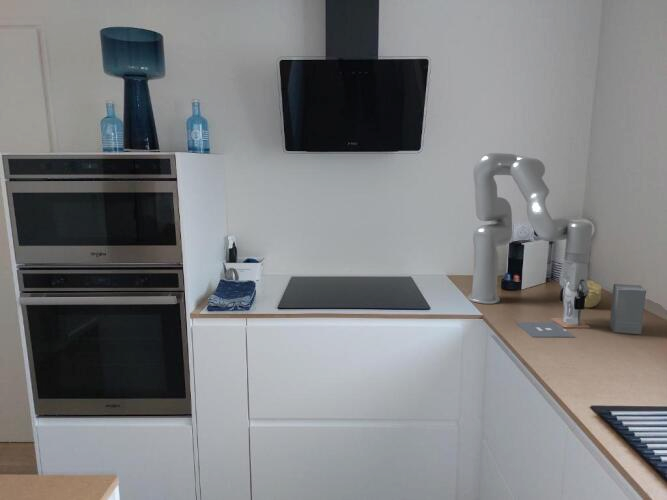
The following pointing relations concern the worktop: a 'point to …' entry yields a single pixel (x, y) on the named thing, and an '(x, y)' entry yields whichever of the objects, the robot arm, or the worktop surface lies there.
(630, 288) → the skincare box
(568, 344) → the worktop surface
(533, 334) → the blue-grey tile
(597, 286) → the sculpture
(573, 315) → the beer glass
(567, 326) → the coaster
